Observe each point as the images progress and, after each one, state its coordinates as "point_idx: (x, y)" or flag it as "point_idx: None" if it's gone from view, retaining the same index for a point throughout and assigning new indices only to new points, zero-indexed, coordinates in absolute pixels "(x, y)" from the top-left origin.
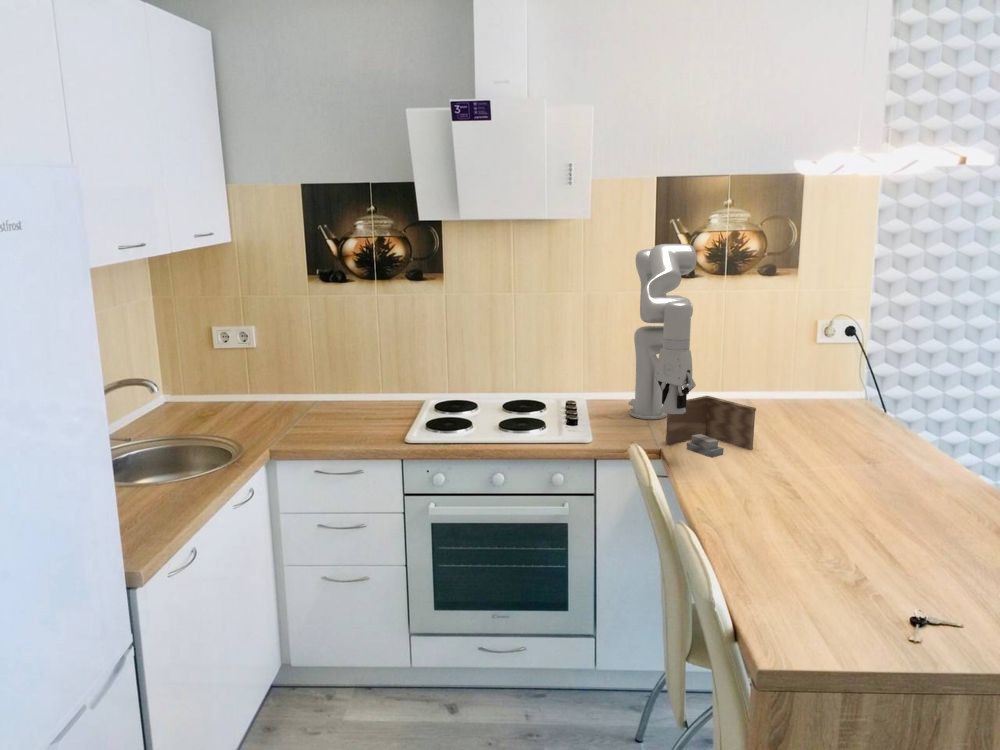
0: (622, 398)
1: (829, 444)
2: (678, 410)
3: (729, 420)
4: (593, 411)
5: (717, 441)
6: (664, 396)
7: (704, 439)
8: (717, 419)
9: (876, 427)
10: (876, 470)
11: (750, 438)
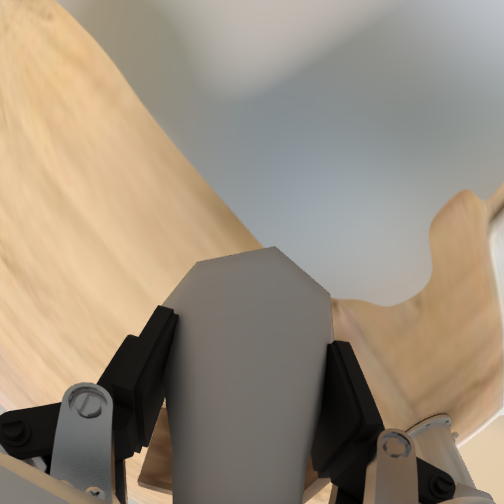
0: (461, 443)
1: None
2: (174, 307)
3: None
4: (497, 384)
5: None
6: (343, 391)
7: None
8: None
9: (135, 495)
10: (16, 384)
11: (156, 426)
